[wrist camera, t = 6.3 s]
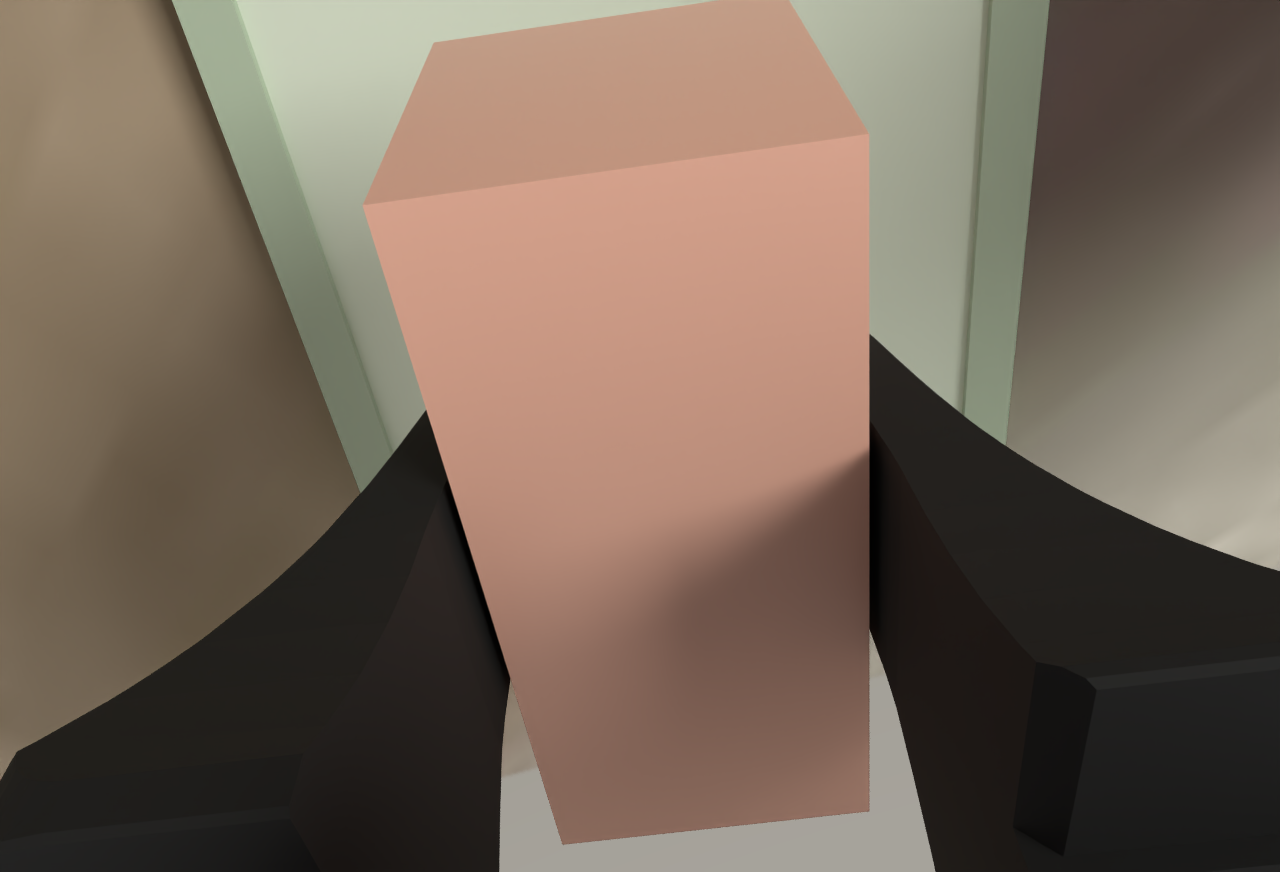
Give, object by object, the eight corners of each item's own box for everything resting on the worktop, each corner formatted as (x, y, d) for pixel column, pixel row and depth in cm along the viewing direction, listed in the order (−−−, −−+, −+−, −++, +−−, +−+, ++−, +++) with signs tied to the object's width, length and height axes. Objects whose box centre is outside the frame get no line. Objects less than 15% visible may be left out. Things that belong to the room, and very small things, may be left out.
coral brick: (783, -10, 12) (869, 134, 8) (810, 567, 17) (869, 811, 13) (433, 42, 12) (363, 205, 8) (569, 597, 17) (562, 844, 13)
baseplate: (1072, -436, 15) (1093, -441, 15) (994, 431, 25) (1005, 451, 24) (90, -272, 16) (68, -269, 15) (380, 509, 25) (374, 530, 25)
